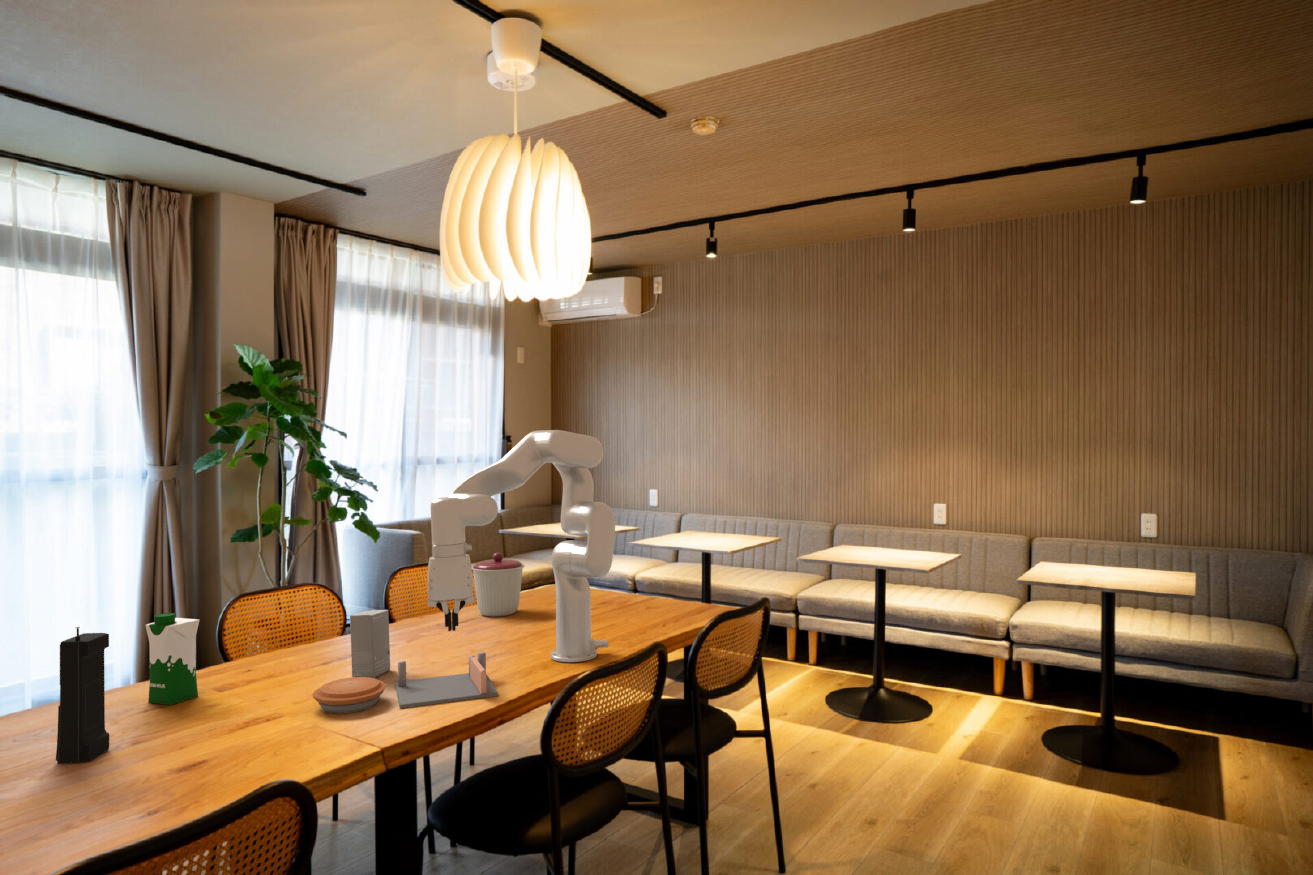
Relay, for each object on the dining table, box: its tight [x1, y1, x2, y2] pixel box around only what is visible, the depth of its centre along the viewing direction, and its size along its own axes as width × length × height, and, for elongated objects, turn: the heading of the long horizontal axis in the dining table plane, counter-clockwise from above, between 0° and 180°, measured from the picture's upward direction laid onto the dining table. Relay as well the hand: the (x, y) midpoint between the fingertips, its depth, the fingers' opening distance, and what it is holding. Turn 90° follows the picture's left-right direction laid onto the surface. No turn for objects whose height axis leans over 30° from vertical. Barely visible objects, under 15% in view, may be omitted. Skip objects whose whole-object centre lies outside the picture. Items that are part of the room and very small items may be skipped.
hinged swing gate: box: [394, 651, 499, 709], centre depth 185 cm, size 22×18×6 cm
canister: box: [471, 552, 525, 617], centre depth 270 cm, size 18×18×21 cm
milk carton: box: [145, 612, 200, 706], centre depth 181 cm, size 9×9×20 cm
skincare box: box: [349, 609, 391, 679], centre depth 200 cm, size 8×7×16 cm
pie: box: [311, 677, 387, 714], centre depth 176 cm, size 16×16×5 cm
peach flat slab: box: [468, 655, 487, 694], centre depth 186 cm, size 16×1×5 cm, turn 24°
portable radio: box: [55, 626, 110, 765], centre depth 148 cm, size 8×6×25 cm
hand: (452, 629), depth 181 cm, fingers closed
